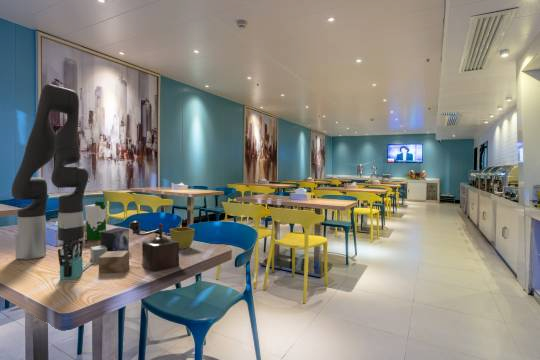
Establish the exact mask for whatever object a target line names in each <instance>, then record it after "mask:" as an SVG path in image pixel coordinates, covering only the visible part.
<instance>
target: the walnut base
mask: <svg viewBox="0 0 540 360" xmlns="http://www.w3.org/2000/svg"><path fill="white" fill-rule="evenodd" d="M129 266H130V250H129V251H107V252H105V253H104V254H103V255H101V256H100V257H99V262H98V274H99V275H102V274H103V273H105V274H123V273H124V272H125V271H126V270H127V269H128V268H129ZM103 275H104V274H103Z"/></svg>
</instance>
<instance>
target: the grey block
mask: <svg viewBox="0 0 540 360" xmlns="http://www.w3.org/2000/svg"><path fill="white" fill-rule="evenodd" d="M105 252H107V248H106V247H105V246H104V245H102V246H101V245H97V246H95V245H94V246H90V260H91V262H92V263H99V257H100V256H101V255H103V254H104V253H105Z"/></svg>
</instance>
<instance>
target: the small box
mask: <svg viewBox="0 0 540 360" xmlns="http://www.w3.org/2000/svg"><path fill="white" fill-rule="evenodd" d="M129 233H130V228H124V227H115V228H110V229H108V230H107V229H106V231H102V232H101V240H100V246H102V245H104V246H105V247H106V248H107V251H129V252H130V250H129V249H130V248H129V247H130V246H129V245H130V244H129V242H130V241H129V240H130V234H129Z"/></svg>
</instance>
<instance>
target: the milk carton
mask: <svg viewBox="0 0 540 360" xmlns="http://www.w3.org/2000/svg"><path fill="white" fill-rule="evenodd" d="M94 203H95V204H88V205H83V208H84V211H85V233H86V232H87V240H86V241H101V232H102V231H107V210H108V209H107V208H108V204H105V201H104V200H95V202H94Z"/></svg>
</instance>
